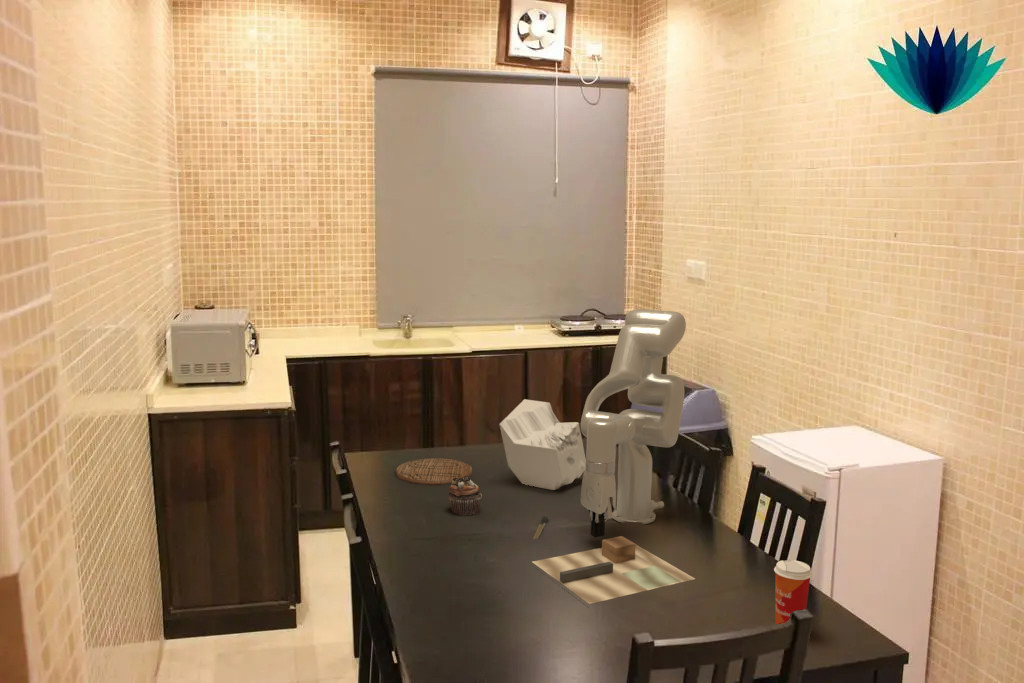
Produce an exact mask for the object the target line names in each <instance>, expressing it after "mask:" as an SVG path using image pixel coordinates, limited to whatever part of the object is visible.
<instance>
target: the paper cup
mask: <svg viewBox="0 0 1024 683" xmlns="http://www.w3.org/2000/svg"><path fill="white" fill-rule="evenodd" d="M773 571H774V572H775V575H774V576H775V591H774V593H775V596H774V597H775V600H774V601H775V615H774V616H775V617H774V618H775V625H776V624H781V623H786V622H787V621H788V620H789V618H790V614H791V613H792V612H793V611H796V610H803V609H806V610H807V606H808V605H807V604H808V598H809V591H810V584H811V577H813V572H812V571H811V567H810V565H809V564H808V563H806V562H803V561H799V560H795V559H792V560H790V559H789V560H779V561H778V562H776V566H774V568H773Z"/></svg>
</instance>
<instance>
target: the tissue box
mask: <svg viewBox="0 0 1024 683" xmlns="http://www.w3.org/2000/svg"><path fill="white" fill-rule="evenodd" d="M498 425H499V429H500V435H501V438H502V443H503V448H504V451H505V452H504V453H505V458H506V462H507V467H508V468H509V469H510V470H511V472H512V474H514V476H515V477H516V478H517V479H518V481H519V482H520V483H521V484H522V485H523V484H525V485H524V486H528V485H529V486H530V487H533V486H534V487H533V488H541V489H546V490H549V491H556V490H558V491H559V489H560V488H561V487H563V486H566V485H569V484H572V483H573V482H574V480H575V479H579V478H581V476H583V475H582V474H584V471H585V469H586V452H585V448H584V444H583V438H582V432H581V426H580V423H579V422H576V421H574V422H560V420H559V419H558V418H557V416H556V414H555V413H554V411H553V408H552V405H551V402H547V401H540V400H532V399H526V398H524V399H523V400H522V401H521V402H520V403H519V404H518V405H517V406H516V407H514V409H513V410H511V412H510V413H509V414H508V415H507V416H506V417H504V419H503V420H502V421H501V422H499V424H498ZM529 486H528V487H529Z"/></svg>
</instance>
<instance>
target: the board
mask: <svg viewBox="0 0 1024 683" xmlns="http://www.w3.org/2000/svg"><path fill="white" fill-rule="evenodd" d="M605 562H611V563H613V572H609V573H605V574H600V575H596V576H591V577H587V578H582V579H577V580H573V581H568V582H564V583H563V582H562V581H560V572H563V571H568V570H572V569H577V568H582V567H586V566H591V565H596V564H601V563H605ZM532 563H533V564H534V565H535V566H537V567H538V568H539V569H541V570H542V571H544V572H545V573H546V574H548V575H549V576H550V577H552V578H553V579H554V580H552V582H553V583H555V580H556V581H557V582H559V583H560V584H561V585H563V587H565V589H564V588H563V590H564V591H565V590H566V588H567V589H568V590H570V591H571V592H572V593H573V594H575V595H576V596H577V597H579V598H580V599H582V600H583V601H584V602H585V603H587V604H588V605H590V604H595V603H600V602H604V601H609V600H612V599H617V598H620V597H621V598H622V597H625V596H629V595H633V594H634V595H635V594H638V593H642V592H647V591H652V590H655V589H660V588H663V587H664V588H665V587H668V586H672V585H676V584H681V583H685V582H690V581H693V580H696V578H695V577H694V576H691V575H689V574H688V573H686V572H684V571H682V570H681V569H679V568H677V567H676V566H674V565H672V564H670V563H669V562H667V561H665V560H664V559H661V558H660V557H658V556H657V555H655V554H653V553H651V551H648V550H647V549H644V548H643V547H641V546H639V545H637V544H636V547H635V559H634V560H629V561H625V562H620V563H614V562H612V561H610V560H609V559H607V558H606V557H604V556H603V555H602V547H599V548H593V549H588V550H583V551H579V552H574V553H568V554H564V555H559V556H554V557H549V558H542V559H538V560H534V561H532ZM538 568H536V570H537V571H539V572H540V573H541V574H543V575H544V576H547V575H546V574H544V573H543V572H542V571H540V570H538ZM567 593H568V594H569V595H571V596H572V597H573V598H575V599H576V600H578V599H577V598H576V597H575V596H574V595H572V594H571V593H570V592H568V591H567ZM579 603H582V601H581V600H579ZM585 603H583V605H585V606H586V607H587V608H589V609H590V607H589V606H588V605H586V604H585Z"/></svg>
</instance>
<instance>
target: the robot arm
mask: <svg viewBox="0 0 1024 683" xmlns="http://www.w3.org/2000/svg"><path fill="white" fill-rule="evenodd" d="M686 327H687V322H686V319H685V316H684V315H683V314H682V313H680V312H678V311H671V310H670V311H669V310H660V309H659V310H658V309H643V308H642V309H641V308H640V309H633V310H632V309H631V310H629V311H628V312H627V313H626V315H625V318H624V326H623V327H622V328H621V329H620V331H619V333H618V338H617V342H616V346H615V350H614V353H613V357H612V363H611V366H610V370H609V374H607V375H606V376H605V377H604V378H603V379H602V380H600V381H599V382H598V383H596V385H595V386H594V387H593V389H592V390H591V391H590V393H589V394H588V395H587V398H586V400H585V404H584V407H583V411H582V415H581V419H580V432H581V435H583V436H584V437H585V438H586V452H585V458H586V465H585V466H586V469H585V471H584V472H583V475H582V481H581V488H580V490H581V491H580V504H581V506H583V507H584V508H585V509H586V510H587V511H588V512H589V519H590V520H591V521H590V536H591V537H593V538H599V537H604V536H605V531H606V530H605V529H606V527H605V526H606V522H607V520H609V519H611V520H612V519H613V520H615V521H616V522H619V523H626V522H628V523H630V522H631V523H641V524H643V525H648V524H650V523H653V522H655V520H656V513H655V512H654V511H655V510H656V509H663V508H664V507H665V502H664V501H662V500H661V501H655V500H653V499H652V479H653V478H652V477H653V475H652V474H653V456H652V454H651V451H650V449H649V448H648V446H653V447H659V448H671V447H673V446H674V445H675V444H676V443H677V441H678V438H679V433H680V428H681V420H682V415H683V408H684V402H685V401H684V400H685V384H684V381H683V379H682V378H680V377H679V376H676V375H672V374H663V373H662V369H663V362H664V358H665V357H667V356H669V355H670V354H671V353H672V352H673V351H674V349H675V348H676V347H677V346H678V344H679V343H680V342H681V340H682V339H683V337H684V335H685V333H686ZM625 390H627V398H628V401H629V402H631V403H632V404H635V405H638V406H645V407H652V408H659V409H663V412H660V411H653V410H646V409H639V408H628V409H624V410H622V411H621V412H619V413H613V412H606V411H599V409H600V406H601V405H602V403H603V402H604V401H605V400H606V399H607V398H609V397H610V396H612V395H613V394H616V393H619V392H621V391H625ZM617 445H618V466H617V468H618V469H617V482H616V474H615V473H616V454H617V453H616V452H617ZM616 483H617V485H616Z"/></svg>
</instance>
